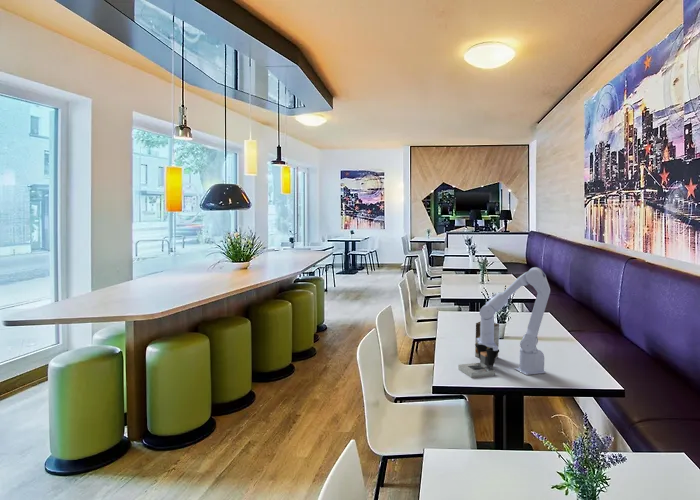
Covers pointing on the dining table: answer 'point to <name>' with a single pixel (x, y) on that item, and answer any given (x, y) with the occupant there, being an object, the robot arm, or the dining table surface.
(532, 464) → the dining table surface
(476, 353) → the coffee box
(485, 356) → the plug
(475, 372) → the socket plate
